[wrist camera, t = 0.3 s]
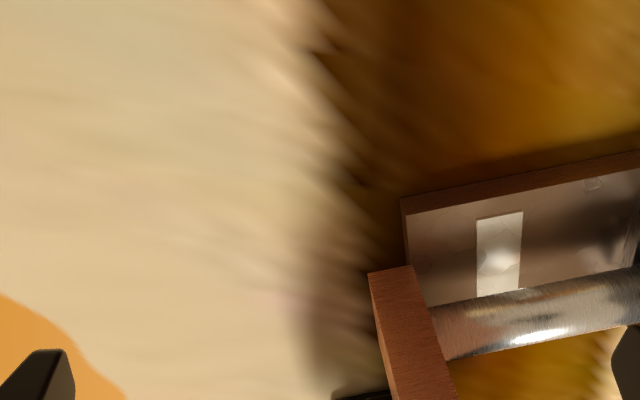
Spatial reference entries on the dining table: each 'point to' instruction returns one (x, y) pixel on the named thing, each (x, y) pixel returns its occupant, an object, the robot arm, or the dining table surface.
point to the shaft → (487, 323)
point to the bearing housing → (524, 229)
